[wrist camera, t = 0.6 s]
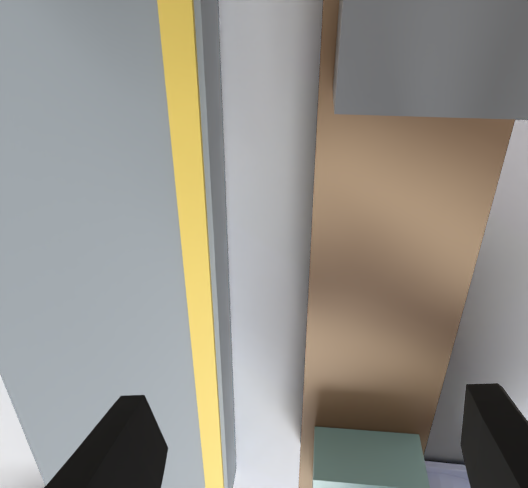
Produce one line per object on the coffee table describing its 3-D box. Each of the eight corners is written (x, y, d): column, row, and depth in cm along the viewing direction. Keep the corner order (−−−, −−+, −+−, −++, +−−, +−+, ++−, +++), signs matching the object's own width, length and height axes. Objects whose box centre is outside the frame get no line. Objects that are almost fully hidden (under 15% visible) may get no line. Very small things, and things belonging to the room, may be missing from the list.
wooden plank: (396, 443, 26) (407, 513, 23) (301, 434, 27) (297, 501, 23) (524, -137, 13) (595, -176, 10) (329, -131, 14) (331, -165, 10)
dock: (236, 468, 28) (228, 512, 26) (66, 449, 29) (44, 490, 27) (211, -179, 13) (186, -211, 11) (-146, -171, 14) (-239, -199, 12)
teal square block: (407, 488, 22) (416, 544, 20) (312, 480, 22) (311, 534, 20) (419, 434, 20) (430, 490, 18) (314, 426, 20) (313, 479, 18)
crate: (498, 94, 13) (533, 120, 10) (332, 90, 13) (334, 114, 11) (544, -85, 10) (600, -99, 8) (345, -83, 11) (350, -96, 9)
